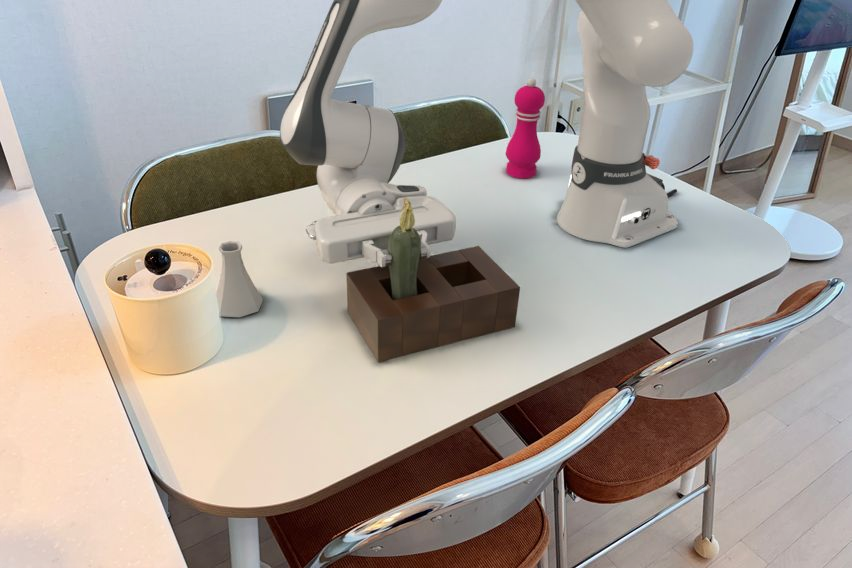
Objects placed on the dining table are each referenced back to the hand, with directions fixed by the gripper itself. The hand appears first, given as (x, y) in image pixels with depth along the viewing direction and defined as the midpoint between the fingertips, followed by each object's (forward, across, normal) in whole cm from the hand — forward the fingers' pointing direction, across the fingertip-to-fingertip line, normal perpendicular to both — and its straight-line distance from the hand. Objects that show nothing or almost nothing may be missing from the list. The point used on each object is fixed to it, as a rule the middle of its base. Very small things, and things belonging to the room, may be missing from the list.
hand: (406, 257), depth 93 cm
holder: (-1, +4, +12) cm, 13 cm away
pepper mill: (-42, +44, +12) cm, 62 cm away
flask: (-15, -21, +12) cm, 28 cm away
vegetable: (-1, 0, +12) cm, 12 cm away
